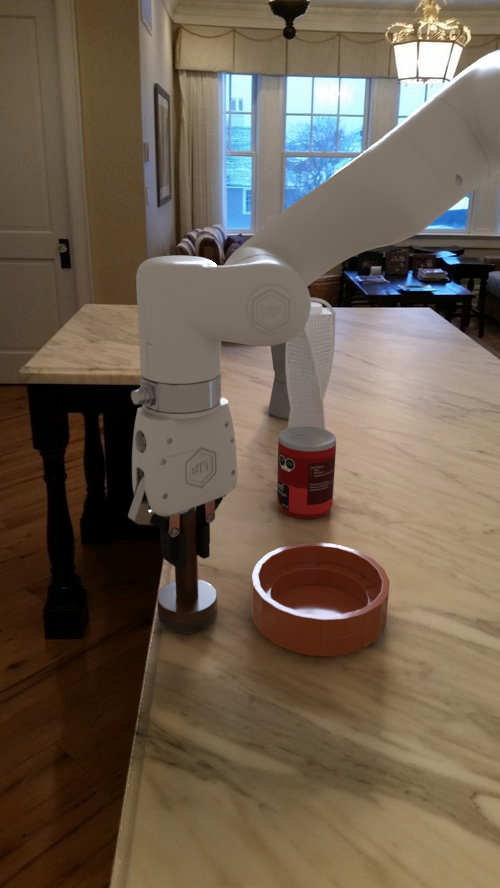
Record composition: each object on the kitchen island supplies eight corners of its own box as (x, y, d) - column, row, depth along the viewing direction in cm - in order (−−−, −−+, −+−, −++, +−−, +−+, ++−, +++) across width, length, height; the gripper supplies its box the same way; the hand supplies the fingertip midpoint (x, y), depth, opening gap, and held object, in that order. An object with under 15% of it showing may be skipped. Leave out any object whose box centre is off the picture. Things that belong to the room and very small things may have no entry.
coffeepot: (256, 402, 142) (258, 314, 135) (299, 398, 145) (303, 311, 138) (284, 429, 129) (287, 332, 122) (331, 424, 131) (337, 329, 124)
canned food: (281, 492, 105) (283, 423, 101) (334, 498, 103) (339, 428, 99) (272, 516, 98) (273, 444, 94) (329, 522, 97) (333, 449, 92)
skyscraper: (315, 484, 108) (324, 301, 97) (271, 473, 111) (276, 295, 100) (335, 466, 114) (346, 292, 103) (294, 456, 117) (300, 287, 107)
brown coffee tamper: (193, 590, 81) (190, 488, 76) (229, 616, 76) (228, 509, 71) (146, 612, 77) (140, 506, 72) (181, 641, 72) (177, 530, 67)
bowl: (316, 565, 87) (318, 529, 85) (413, 620, 77) (417, 582, 75) (224, 611, 78) (224, 573, 76) (320, 681, 68) (322, 639, 66)
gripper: (130, 421, 59) (140, 604, 66) (270, 384, 69) (266, 546, 76) (85, 399, 64) (100, 570, 72) (222, 367, 74) (223, 520, 81)
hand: (186, 556), depth 74 cm, fingers closed on brown coffee tamper, 2 cm apart
